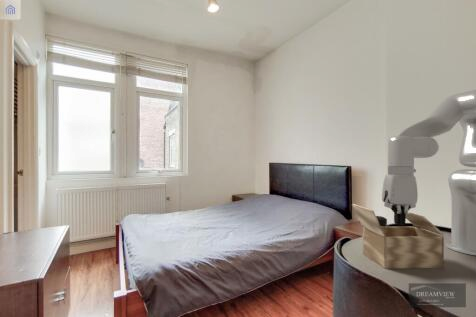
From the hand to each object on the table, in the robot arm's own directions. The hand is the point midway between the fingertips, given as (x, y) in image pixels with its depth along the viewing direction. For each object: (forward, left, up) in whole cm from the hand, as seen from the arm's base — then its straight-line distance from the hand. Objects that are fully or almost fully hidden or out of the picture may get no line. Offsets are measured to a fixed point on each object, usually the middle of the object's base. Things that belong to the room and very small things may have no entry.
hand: (399, 224), depth 83 cm
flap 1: (+11, 0, +2) cm, 12 cm away
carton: (-1, 0, -13) cm, 13 cm away
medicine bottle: (-2, -14, -13) cm, 19 cm away
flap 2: (-7, 0, +1) cm, 7 cm away
